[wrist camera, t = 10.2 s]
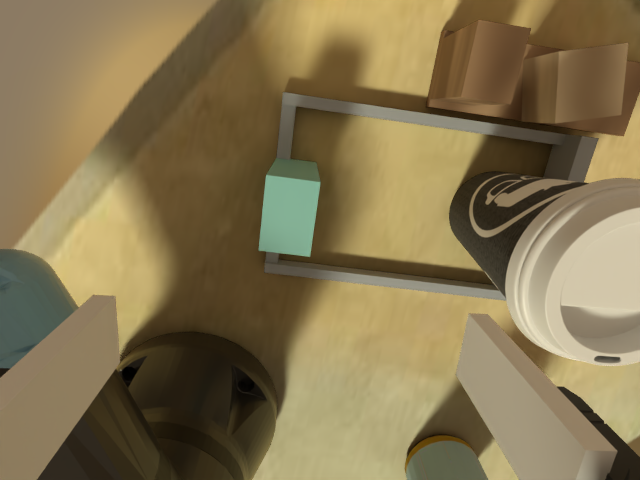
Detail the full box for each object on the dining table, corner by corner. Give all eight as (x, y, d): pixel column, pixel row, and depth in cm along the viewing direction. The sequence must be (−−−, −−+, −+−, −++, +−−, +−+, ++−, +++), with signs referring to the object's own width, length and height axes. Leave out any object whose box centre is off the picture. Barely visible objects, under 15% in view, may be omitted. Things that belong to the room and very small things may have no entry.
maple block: (521, 121, 30) (555, 123, 26) (523, 59, 28) (559, 51, 24) (578, 114, 30) (621, 115, 26) (582, 52, 28) (628, 42, 24)
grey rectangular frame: (265, 266, 33) (251, 321, 25) (283, 92, 29) (274, 85, 21) (520, 296, 35) (590, 357, 26) (571, 135, 31) (673, 145, 22)
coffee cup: (407, 236, 33) (485, 332, 19) (473, 128, 31) (621, 144, 16) (502, 285, 35) (640, 408, 20) (572, 186, 32) (785, 247, 18)
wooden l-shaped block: (425, 106, 30) (458, 105, 23) (441, 32, 28) (481, 9, 22) (615, 135, 31) (697, 142, 25) (640, 65, 30) (734, 52, 23)
